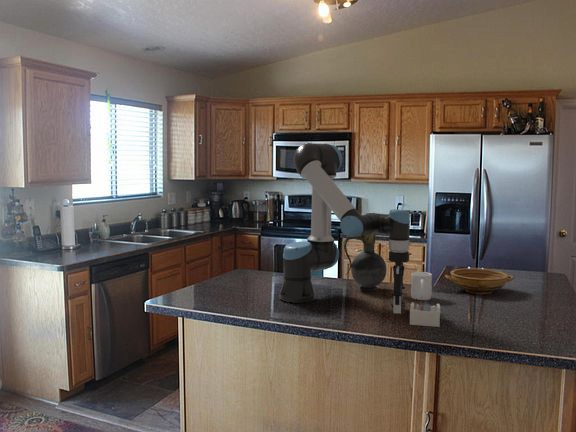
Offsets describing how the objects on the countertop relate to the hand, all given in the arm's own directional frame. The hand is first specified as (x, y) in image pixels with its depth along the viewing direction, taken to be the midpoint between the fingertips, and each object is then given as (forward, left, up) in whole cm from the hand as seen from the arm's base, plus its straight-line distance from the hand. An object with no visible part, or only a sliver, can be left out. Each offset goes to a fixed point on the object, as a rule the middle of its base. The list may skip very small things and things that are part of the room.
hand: (398, 309), depth 198 cm
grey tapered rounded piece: (0, 0, -1) cm, 1 cm away
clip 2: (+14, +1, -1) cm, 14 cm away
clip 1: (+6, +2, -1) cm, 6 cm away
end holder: (+10, -9, -1) cm, 13 cm away
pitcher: (-17, +34, -1) cm, 38 cm away
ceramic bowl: (+32, +44, -1) cm, 54 cm away
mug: (+8, +23, -1) cm, 24 cm away
